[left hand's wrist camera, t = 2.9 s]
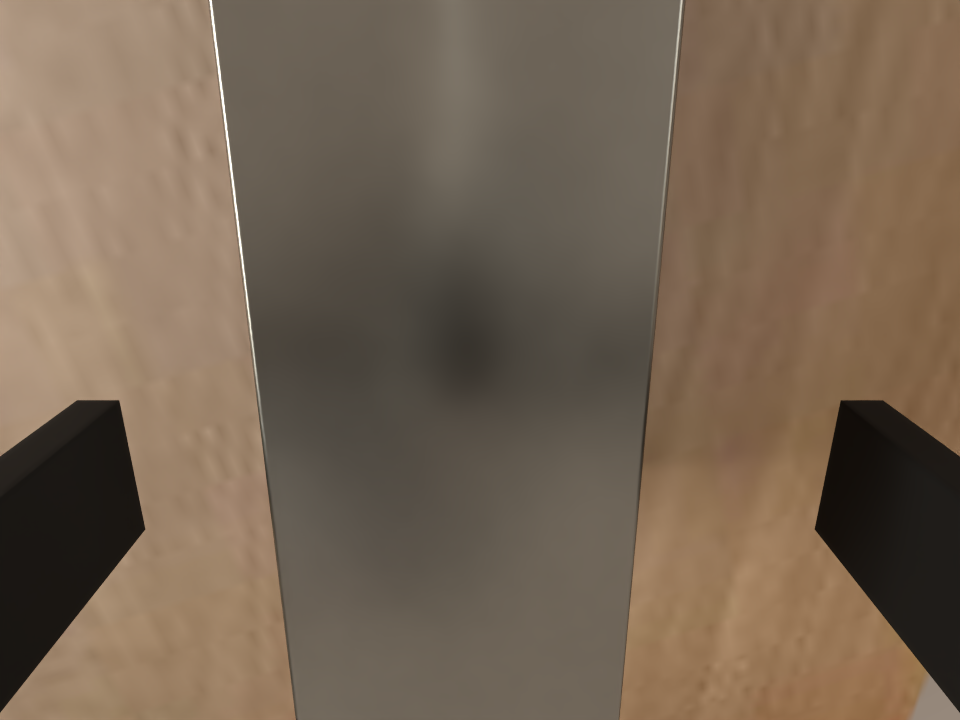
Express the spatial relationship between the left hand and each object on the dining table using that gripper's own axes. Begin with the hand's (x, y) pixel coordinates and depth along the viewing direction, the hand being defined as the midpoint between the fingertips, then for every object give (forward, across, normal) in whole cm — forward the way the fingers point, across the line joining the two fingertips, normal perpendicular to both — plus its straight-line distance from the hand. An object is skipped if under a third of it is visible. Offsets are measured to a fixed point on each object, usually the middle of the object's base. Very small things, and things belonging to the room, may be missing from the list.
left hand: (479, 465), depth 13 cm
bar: (+6, 0, -9) cm, 11 cm away
